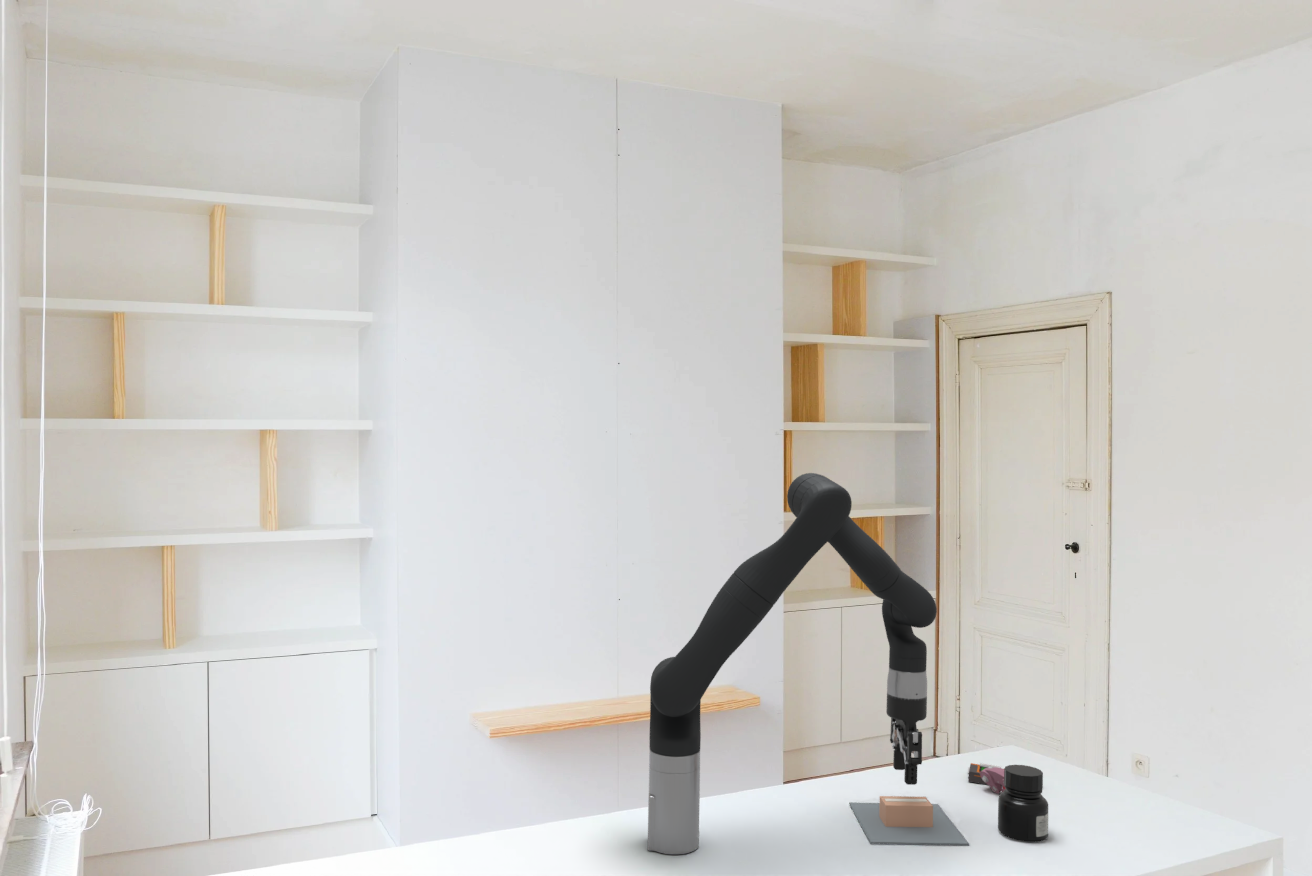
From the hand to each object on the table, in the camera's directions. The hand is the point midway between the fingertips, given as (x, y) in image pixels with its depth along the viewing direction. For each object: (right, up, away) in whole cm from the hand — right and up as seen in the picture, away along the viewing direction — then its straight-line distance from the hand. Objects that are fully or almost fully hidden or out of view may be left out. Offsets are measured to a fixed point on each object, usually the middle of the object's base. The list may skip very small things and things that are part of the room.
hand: (904, 776), depth 188 cm
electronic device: (+28, -10, +24) cm, 38 cm away
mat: (0, -9, 0) cm, 9 cm away
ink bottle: (+21, -10, -4) cm, 24 cm away
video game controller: (+25, -10, +17) cm, 32 cm away
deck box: (0, -9, 0) cm, 9 cm away
